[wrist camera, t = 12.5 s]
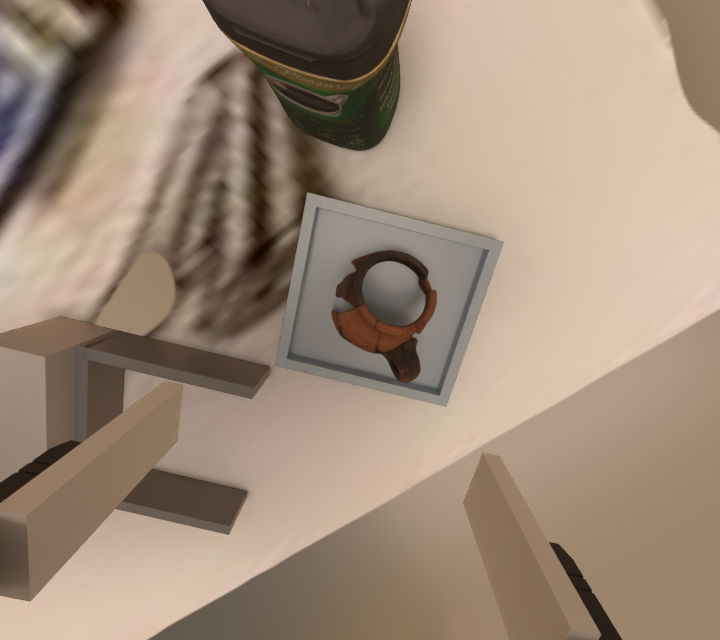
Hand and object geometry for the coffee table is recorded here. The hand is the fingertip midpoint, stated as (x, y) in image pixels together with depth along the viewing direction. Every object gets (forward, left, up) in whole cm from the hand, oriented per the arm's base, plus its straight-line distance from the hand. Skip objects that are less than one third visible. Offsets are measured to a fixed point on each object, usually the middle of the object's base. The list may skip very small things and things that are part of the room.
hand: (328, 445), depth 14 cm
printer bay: (-19, -17, -21) cm, 33 cm away
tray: (+2, +2, -21) cm, 21 cm away
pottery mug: (+3, +2, -20) cm, 21 cm away
